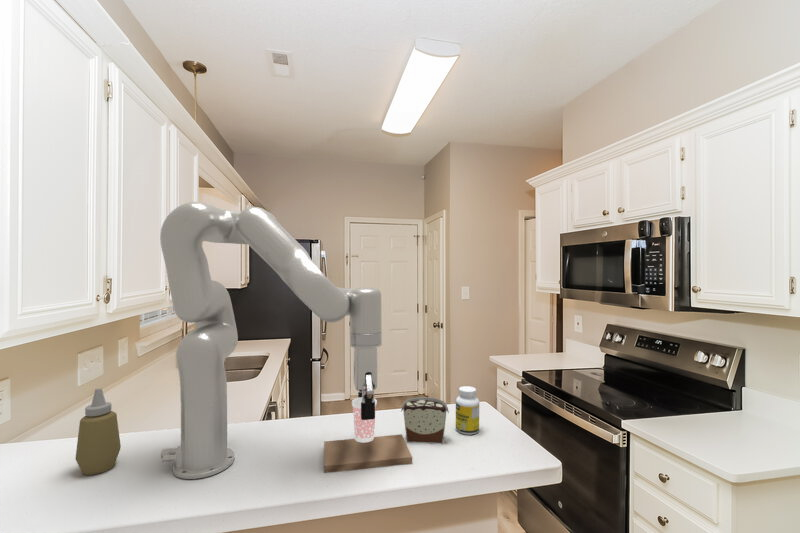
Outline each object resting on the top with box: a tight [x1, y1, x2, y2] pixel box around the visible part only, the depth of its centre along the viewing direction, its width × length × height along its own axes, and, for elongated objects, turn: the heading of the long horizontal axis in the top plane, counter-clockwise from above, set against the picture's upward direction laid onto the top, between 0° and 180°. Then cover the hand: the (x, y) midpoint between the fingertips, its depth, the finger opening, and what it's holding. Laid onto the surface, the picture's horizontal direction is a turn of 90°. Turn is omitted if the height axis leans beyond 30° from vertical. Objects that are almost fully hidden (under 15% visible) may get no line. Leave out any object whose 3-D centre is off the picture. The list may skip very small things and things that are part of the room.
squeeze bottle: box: [74, 388, 122, 476], centre depth 86 cm, size 8×8×18 cm
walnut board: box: [323, 434, 413, 474], centre depth 92 cm, size 20×12×2 cm, turn 101°
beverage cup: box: [351, 386, 378, 443], centre depth 92 cm, size 6×6×14 cm
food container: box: [400, 396, 450, 445], centre depth 101 cm, size 12×6×10 cm, turn 85°
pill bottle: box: [455, 385, 480, 436], centre depth 106 cm, size 6×6×12 cm
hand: (366, 412), depth 92 cm, fingers closed on beverage cup, 6 cm apart
